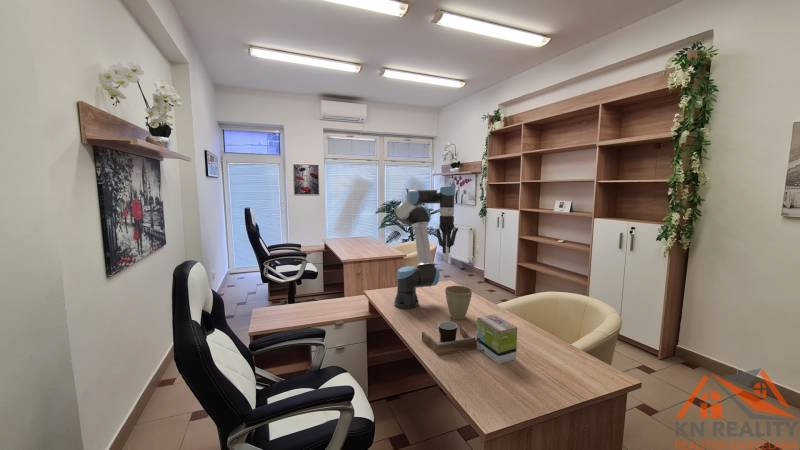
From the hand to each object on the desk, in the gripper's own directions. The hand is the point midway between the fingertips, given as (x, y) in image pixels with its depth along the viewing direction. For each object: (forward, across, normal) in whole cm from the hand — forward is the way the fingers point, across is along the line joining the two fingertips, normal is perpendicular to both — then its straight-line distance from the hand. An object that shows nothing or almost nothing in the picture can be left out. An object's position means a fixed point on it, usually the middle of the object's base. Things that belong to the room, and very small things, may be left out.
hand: (446, 259), depth 170 cm
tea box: (+35, +5, -39) cm, 52 cm away
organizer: (+34, -10, -24) cm, 43 cm away
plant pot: (+35, +9, +2) cm, 36 cm away
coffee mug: (+35, -11, -25) cm, 44 cm away
